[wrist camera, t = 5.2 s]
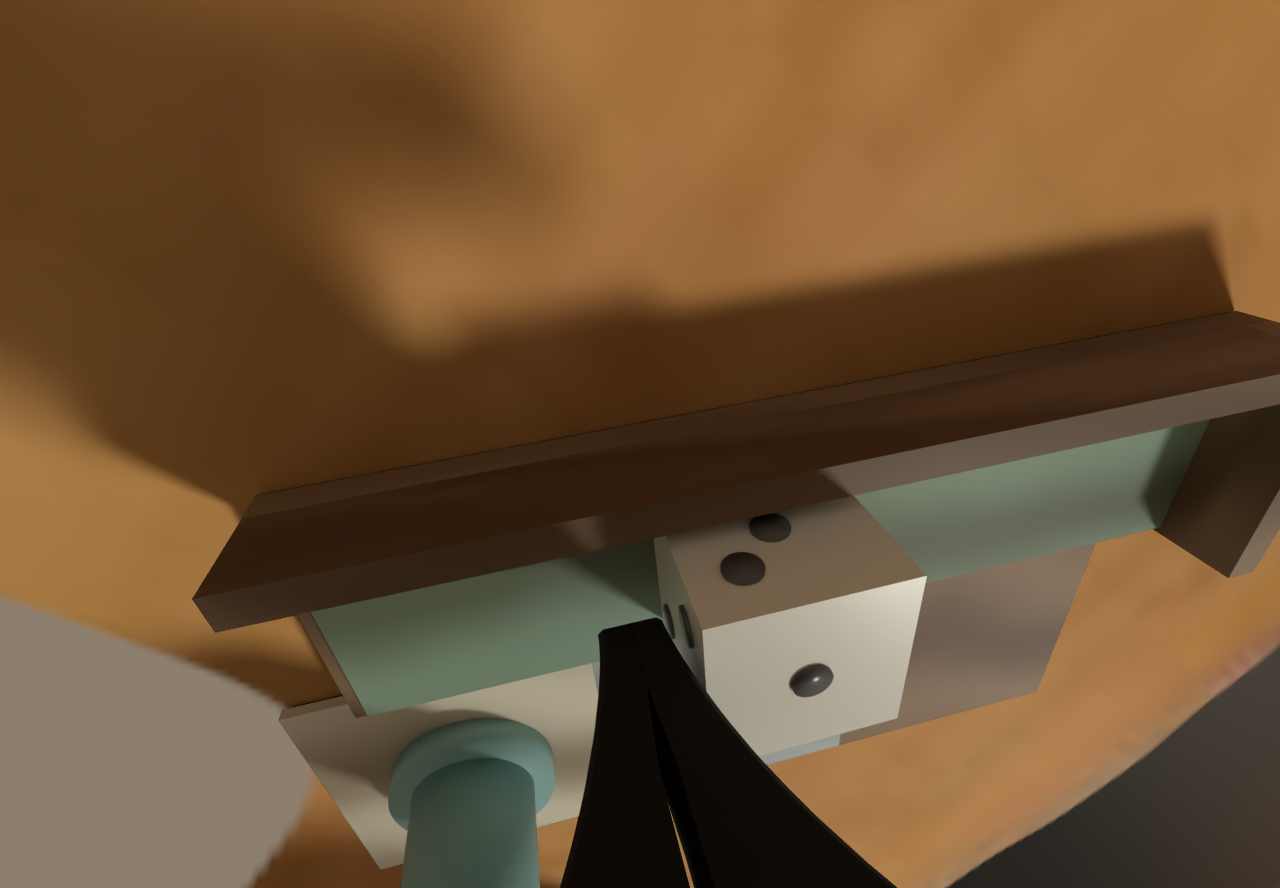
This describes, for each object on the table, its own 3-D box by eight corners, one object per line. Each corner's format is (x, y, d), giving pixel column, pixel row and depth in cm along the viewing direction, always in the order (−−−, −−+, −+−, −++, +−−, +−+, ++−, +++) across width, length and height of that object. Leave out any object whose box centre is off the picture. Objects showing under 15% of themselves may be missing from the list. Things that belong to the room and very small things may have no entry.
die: (809, 584, 15) (899, 721, 12) (659, 619, 15) (709, 773, 11) (818, 454, 13) (930, 575, 10) (644, 490, 13) (699, 631, 9)
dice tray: (1149, 507, 18) (1253, 572, 16) (361, 691, 15) (335, 807, 13) (1236, 311, 15) (1384, 352, 13) (256, 495, 12) (192, 599, 10)
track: (1030, 684, 22) (1036, 691, 22) (382, 859, 19) (380, 869, 19) (1093, 520, 18) (1102, 526, 18) (282, 709, 15) (278, 720, 15)
